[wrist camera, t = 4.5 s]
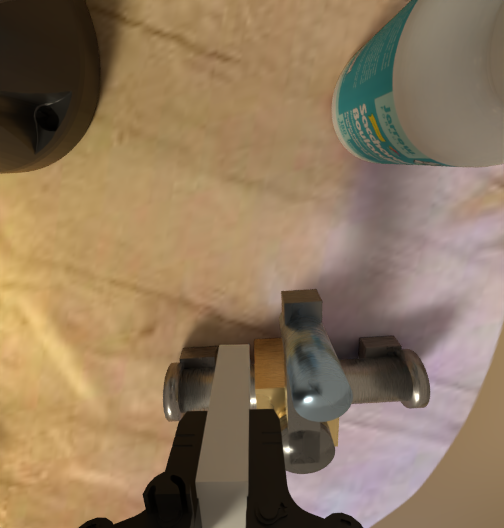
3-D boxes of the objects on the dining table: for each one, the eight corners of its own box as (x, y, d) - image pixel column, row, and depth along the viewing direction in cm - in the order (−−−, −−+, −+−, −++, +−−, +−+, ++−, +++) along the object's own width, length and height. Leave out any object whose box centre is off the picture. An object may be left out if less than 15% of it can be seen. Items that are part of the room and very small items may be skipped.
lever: (328, 451, 21) (357, 559, 15) (273, 454, 21) (281, 562, 15) (333, 287, 16) (376, 354, 11) (263, 292, 17) (270, 361, 11)
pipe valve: (173, 344, 26) (148, 403, 20) (403, 330, 26) (453, 387, 19) (183, 395, 28) (163, 465, 22) (396, 384, 28) (439, 451, 21)
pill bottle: (310, 138, 20) (408, 103, 8) (362, 19, 18) (627, -317, 5) (401, 179, 21) (622, 209, 9) (461, 71, 19) (886, -106, 6)
